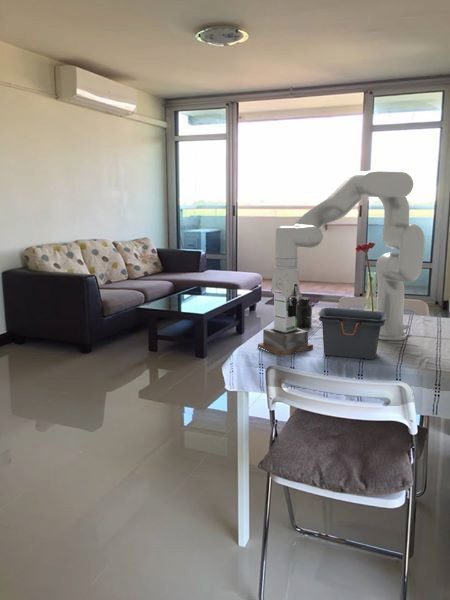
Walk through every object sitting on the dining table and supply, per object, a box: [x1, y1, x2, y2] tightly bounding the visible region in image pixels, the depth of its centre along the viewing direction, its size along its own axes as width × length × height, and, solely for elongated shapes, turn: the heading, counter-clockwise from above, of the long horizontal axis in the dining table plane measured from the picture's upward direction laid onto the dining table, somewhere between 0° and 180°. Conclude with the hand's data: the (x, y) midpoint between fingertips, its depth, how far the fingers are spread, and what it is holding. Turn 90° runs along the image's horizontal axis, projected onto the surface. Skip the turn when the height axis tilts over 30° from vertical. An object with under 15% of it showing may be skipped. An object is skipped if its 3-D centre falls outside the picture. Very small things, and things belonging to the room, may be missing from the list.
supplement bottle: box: [297, 296, 313, 329], centre depth 203 cm, size 7×7×12 cm
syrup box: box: [273, 289, 298, 333], centre depth 172 cm, size 6×6×14 cm
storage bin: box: [317, 307, 386, 360], centre depth 165 cm, size 21×16×14 cm
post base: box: [257, 327, 314, 357], centre depth 174 cm, size 15×12×6 cm
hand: (285, 314), depth 172 cm, fingers closed on syrup box, 6 cm apart
